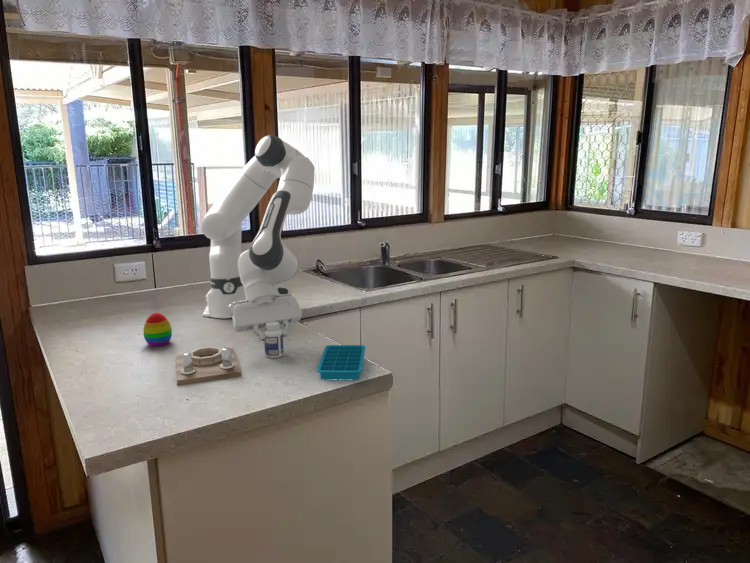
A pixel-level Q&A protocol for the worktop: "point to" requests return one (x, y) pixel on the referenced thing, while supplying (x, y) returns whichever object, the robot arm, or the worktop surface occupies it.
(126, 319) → the worktop surface
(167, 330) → the decorative egg
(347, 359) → the ice cube tray
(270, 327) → the pill bottle
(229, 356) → the steel pins
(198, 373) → the board
